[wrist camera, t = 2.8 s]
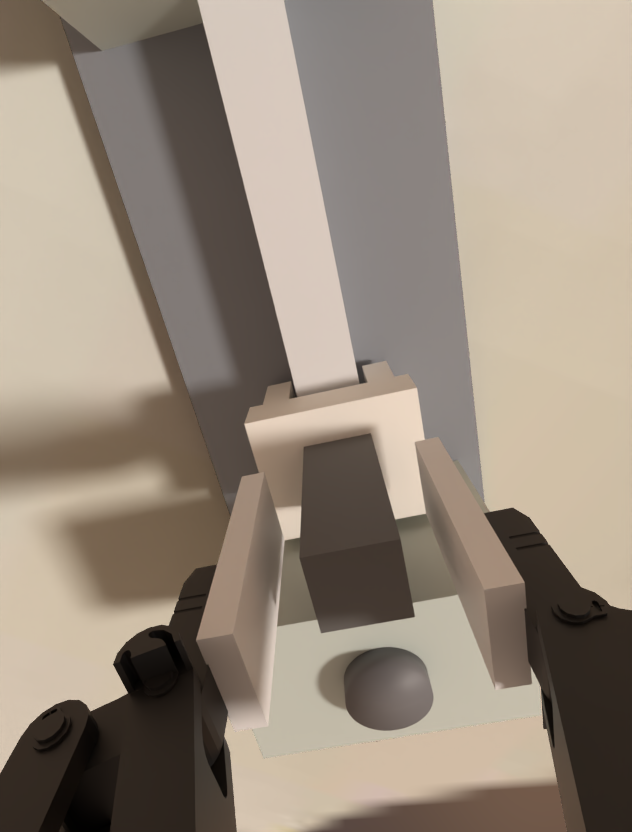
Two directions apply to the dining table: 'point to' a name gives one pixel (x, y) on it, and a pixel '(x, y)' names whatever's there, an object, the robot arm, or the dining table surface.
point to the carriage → (345, 489)
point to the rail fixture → (305, 291)
